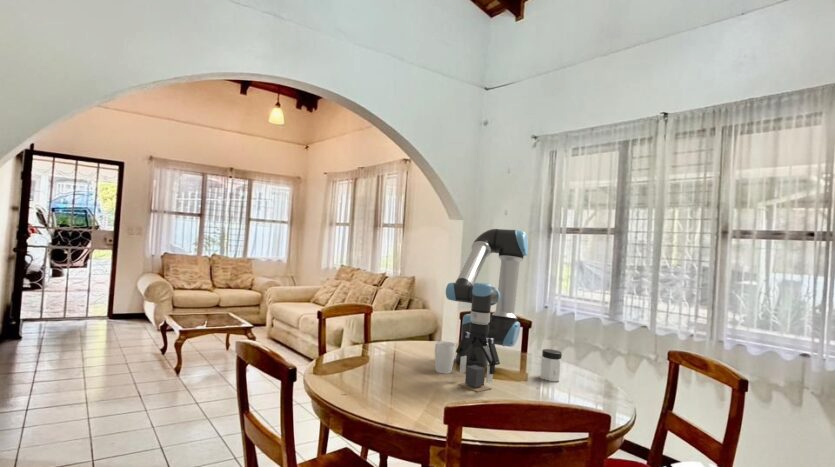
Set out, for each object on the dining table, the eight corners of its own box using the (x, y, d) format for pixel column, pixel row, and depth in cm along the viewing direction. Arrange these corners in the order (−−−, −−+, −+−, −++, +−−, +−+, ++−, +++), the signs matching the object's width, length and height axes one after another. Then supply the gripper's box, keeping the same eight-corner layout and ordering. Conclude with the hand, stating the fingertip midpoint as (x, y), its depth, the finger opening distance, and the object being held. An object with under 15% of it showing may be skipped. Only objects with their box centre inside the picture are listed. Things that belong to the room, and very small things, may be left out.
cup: (454, 375, 188) (456, 346, 188) (433, 373, 188) (435, 344, 188) (453, 369, 197) (455, 342, 197) (432, 367, 197) (435, 340, 197)
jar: (544, 381, 191) (546, 352, 191) (536, 375, 199) (538, 348, 199) (563, 382, 192) (566, 354, 192) (555, 376, 200) (557, 349, 200)
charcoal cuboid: (465, 383, 174) (466, 366, 174) (473, 381, 178) (475, 364, 178) (475, 387, 170) (476, 369, 171) (484, 385, 174) (485, 368, 174)
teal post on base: (458, 384, 175) (459, 366, 175) (471, 381, 180) (473, 364, 181) (477, 392, 168) (479, 373, 168) (491, 389, 173) (492, 370, 173)
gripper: (450, 317, 182) (445, 370, 181) (499, 329, 163) (494, 387, 162) (462, 316, 187) (458, 367, 186) (511, 328, 168) (507, 385, 167)
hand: (475, 377), depth 174 cm, fingers open, 13 cm apart
